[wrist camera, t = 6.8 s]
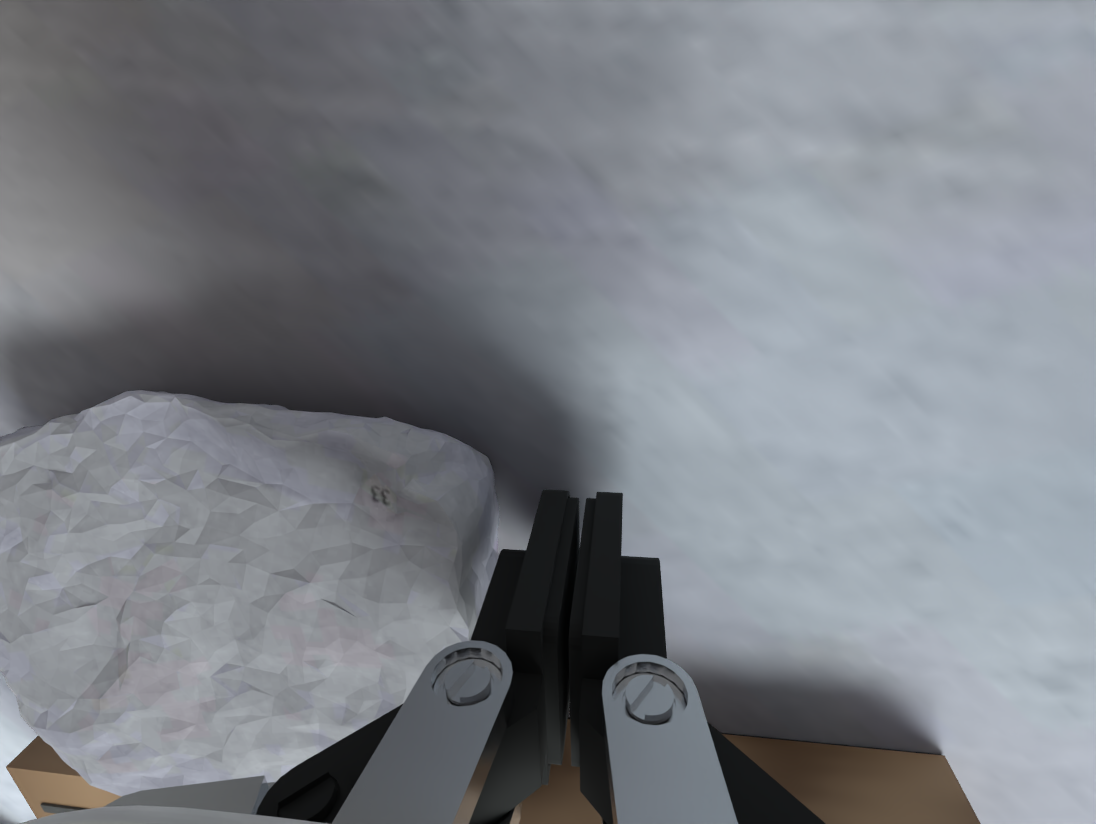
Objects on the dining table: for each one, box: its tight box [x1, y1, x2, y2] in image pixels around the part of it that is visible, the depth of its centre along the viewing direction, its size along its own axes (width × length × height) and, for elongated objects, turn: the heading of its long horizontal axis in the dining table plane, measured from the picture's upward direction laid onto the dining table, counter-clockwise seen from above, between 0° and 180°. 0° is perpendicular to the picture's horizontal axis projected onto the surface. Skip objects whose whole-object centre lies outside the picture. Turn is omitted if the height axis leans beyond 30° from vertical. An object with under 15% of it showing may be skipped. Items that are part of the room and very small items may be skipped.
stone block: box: [0, 390, 500, 796], centre depth 14 cm, size 12×5×10 cm
